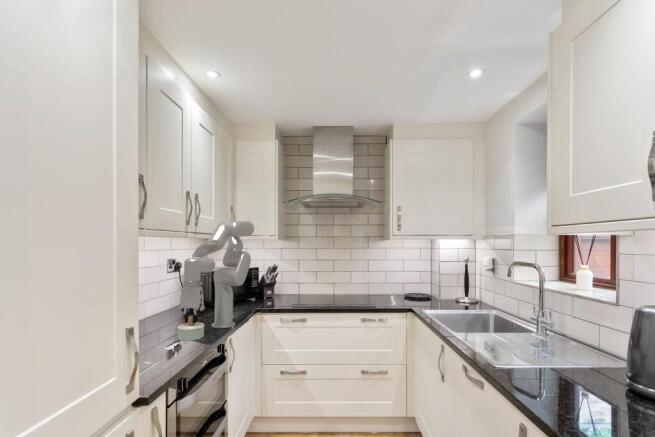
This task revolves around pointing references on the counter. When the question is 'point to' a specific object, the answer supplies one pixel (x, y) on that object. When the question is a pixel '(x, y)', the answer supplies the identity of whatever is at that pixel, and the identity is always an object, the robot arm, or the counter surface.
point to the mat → (171, 346)
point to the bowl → (190, 334)
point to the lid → (190, 325)
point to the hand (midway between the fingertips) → (191, 322)
